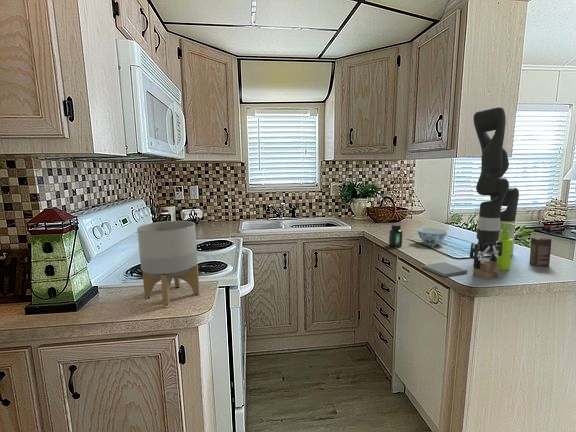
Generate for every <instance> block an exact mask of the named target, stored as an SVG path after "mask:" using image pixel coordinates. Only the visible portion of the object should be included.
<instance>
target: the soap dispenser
mask: <svg viewBox="0 0 576 432" xmlns="http://www.w3.org/2000/svg"><path fill="white" fill-rule="evenodd" d="M501 224H503V229H502V230H501V231H500V237H499V240H498V241H500V242H502V243H503V244H502V256H498V258H497V263H499V267H498V271H499V270H500V271H510V270H511V265H512V264H511V261H512V255H513V254H512V244H513V239H511V238H509V237H510V231H509V230H508V225H511V226H515V227H517V226H518V225H517V224H516V223H515V224H513V223H501ZM498 252H499V250H498ZM511 254H512V255H511Z"/></svg>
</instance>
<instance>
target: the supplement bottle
mask: <svg viewBox="0 0 576 432" xmlns="http://www.w3.org/2000/svg"><path fill="white" fill-rule="evenodd" d="M390 228H391V229H389V235H388V236H389V237H388V246H389V248H395V249H398V248H400V249H401V248H402V247H403V231H402V225H401V224H397V223H395V224H391V227H390Z"/></svg>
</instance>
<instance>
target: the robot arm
mask: <svg viewBox="0 0 576 432" xmlns="http://www.w3.org/2000/svg"><path fill="white" fill-rule="evenodd" d="M473 114H474V115H473V126H474V129H475V132H476V135H477V138H478V142H479V144H480V149H481V166H480V167H481V168H480V170H481V171H480V175H479V178H478V180H477V183H476V185H475V186H476V187H475V190H476V192H477V194H478V195H480V196H489V198H490V200H487V201H482V202H481V203H480V205H479V213H478V214H479V215H478V220H477V228H476V239H477V243H475V242H472V243H471V244H470V251H469V258H471V259H473V269H474V268H475V269H480V262H481V260H482V259H483V257H484V256H485V255H487V254H489V255H490V258H489V260H490V261H493V262H497V258H498V256H502V244H503V243H502V242H500V241H498V240H499V237H500V231H501V230H502V229H503V224H501V223H513V224H516V216H517V211H518V205H519V199H520V191H519V189H518V188H517V187H512V186H510V182H509V180H508V178H506V177H503V176H505V174H506V172H507V171H508V169H509V167H510V161H509V157H508V152H507V151H506V149H505V148H504V147H503V146H504V141H505V140H504V139H505V134H506V133H505V132H506V124H507V122H506V121H507V118H506V111H505V109H504V107H503V106H495V107H491V108H490V107H489V108H487V109H483V110H479V111H476V112H475V113H473ZM488 132H494V134H493V136H492V138H491V137H490V135H489V134H488ZM502 207H506V209H505V210H503V211H502ZM515 227H516V226H511V225H508V230H509V231H510V237H509V238H511V239H513V244H512V254H511V256H512V255H514V248H515V238H516V237H515V229H516V228H515ZM498 250H499V252H498Z"/></svg>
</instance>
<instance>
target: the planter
mask: <svg viewBox="0 0 576 432" xmlns="http://www.w3.org/2000/svg"><path fill="white" fill-rule="evenodd" d="M136 231H137V240H138V241H137V242H138V251H139V252H138V253H139V261H140V269H141V271H142V281H143V293H144V298H145V297H150V296H151V295H152V294H153V293H152V292H153V289H154V287H155V286H156V285H157V283H159V282H161V293H162V304H163V305H162V306H163V307H164V306H168V305H169V304H170V305H171V301H170V296H171V295H170V293H171V284H172V281H174V287H180V288H181V280H182V281H184V282H186V283H187V284H188V286H190V288H191V290H192V292H193V293H192V294H193V295H194V294H199V293H200V292H201V290H200V279H199V266H198V265H199V264H198V261H199V260H198V248H197V247H198V246H197V234H196V223H195V222H194V221H189V220H168V221H167V220H166V221H157V222H150V223H146V224H145V223H144V224H143V225H140V226H137V228H136ZM199 295H200V294H199ZM170 305H169V306H170Z"/></svg>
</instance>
